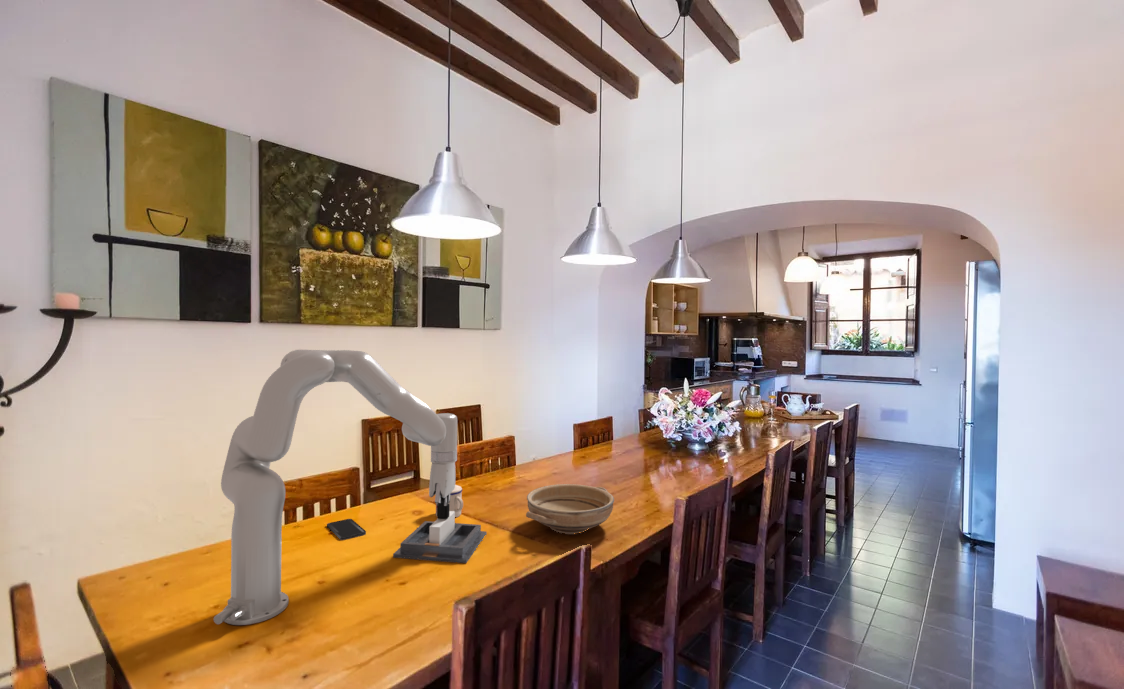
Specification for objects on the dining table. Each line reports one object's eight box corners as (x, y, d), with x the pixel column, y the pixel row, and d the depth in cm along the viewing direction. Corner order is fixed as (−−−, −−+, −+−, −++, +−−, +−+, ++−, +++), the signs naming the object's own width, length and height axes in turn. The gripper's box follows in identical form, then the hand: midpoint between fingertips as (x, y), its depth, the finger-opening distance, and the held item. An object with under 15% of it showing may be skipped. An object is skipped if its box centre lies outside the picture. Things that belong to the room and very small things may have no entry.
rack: (466, 563, 136) (466, 549, 136) (393, 557, 139) (393, 543, 139) (486, 534, 156) (486, 522, 156) (422, 530, 159) (422, 518, 158)
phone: (350, 518, 166) (367, 532, 154) (350, 521, 166) (366, 535, 154) (325, 523, 161) (340, 538, 149) (325, 527, 161) (340, 542, 149)
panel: (439, 552, 140) (439, 527, 140) (429, 551, 141) (429, 526, 141) (454, 534, 153) (454, 511, 153) (445, 533, 154) (445, 510, 154)
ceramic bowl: (566, 558, 140) (566, 522, 140) (497, 531, 159) (498, 499, 159) (637, 523, 168) (637, 493, 168) (572, 503, 187) (572, 476, 187)
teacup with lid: (429, 514, 172) (430, 481, 172) (451, 508, 179) (451, 476, 179) (450, 523, 164) (451, 488, 164) (472, 516, 171) (473, 482, 171)
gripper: (440, 449, 155) (439, 508, 155) (421, 461, 140) (420, 526, 140) (464, 450, 154) (463, 509, 154) (447, 462, 139) (446, 528, 139)
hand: (443, 517), depth 147 cm, fingers closed
